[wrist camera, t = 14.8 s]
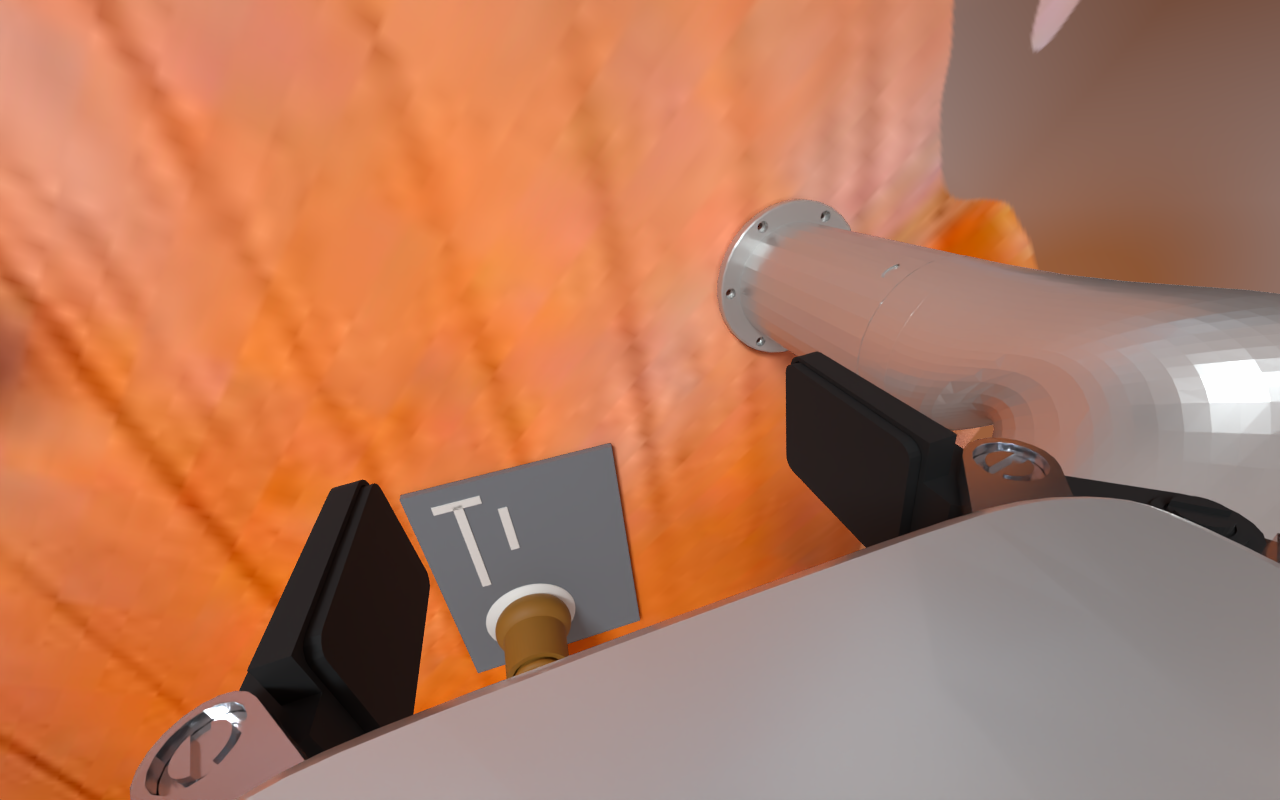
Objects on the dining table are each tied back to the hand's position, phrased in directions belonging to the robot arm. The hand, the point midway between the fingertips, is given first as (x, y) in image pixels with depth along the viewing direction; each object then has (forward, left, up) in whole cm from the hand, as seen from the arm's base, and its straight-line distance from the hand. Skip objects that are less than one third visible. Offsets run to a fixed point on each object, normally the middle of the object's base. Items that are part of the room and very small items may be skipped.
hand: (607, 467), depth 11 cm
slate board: (+5, +30, -27) cm, 41 cm away
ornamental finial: (+7, +35, -27) cm, 45 cm away
